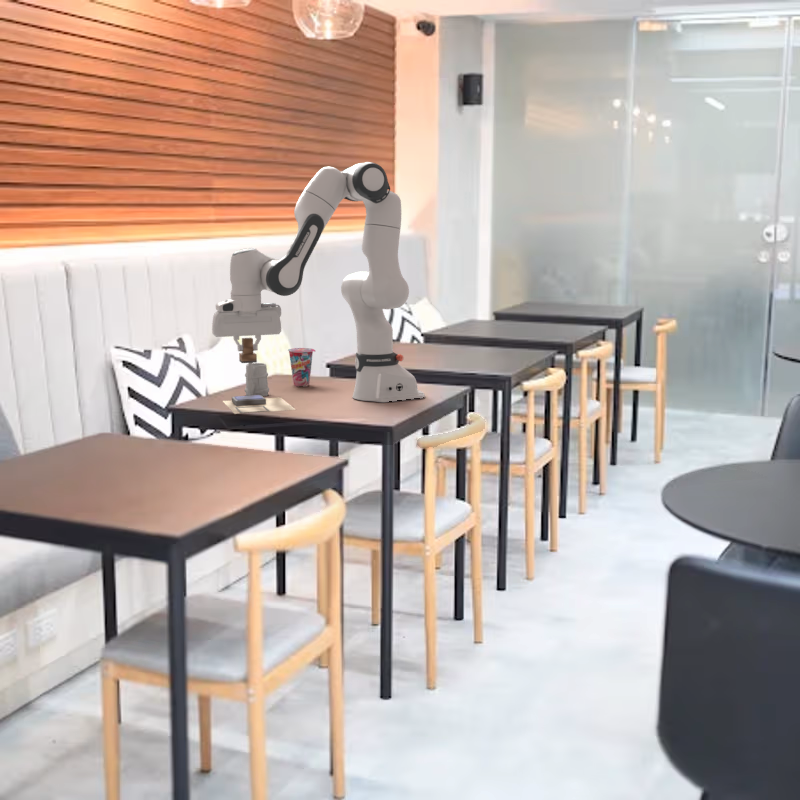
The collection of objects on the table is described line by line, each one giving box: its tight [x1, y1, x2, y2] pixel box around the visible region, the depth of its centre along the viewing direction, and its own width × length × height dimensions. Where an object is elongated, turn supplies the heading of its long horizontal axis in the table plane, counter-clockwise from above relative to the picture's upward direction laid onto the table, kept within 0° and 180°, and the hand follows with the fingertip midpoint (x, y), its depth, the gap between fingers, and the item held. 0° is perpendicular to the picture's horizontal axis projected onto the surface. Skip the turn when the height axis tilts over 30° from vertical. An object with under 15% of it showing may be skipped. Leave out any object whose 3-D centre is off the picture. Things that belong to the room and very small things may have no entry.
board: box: [222, 395, 297, 415], centre depth 330 cm, size 18×21×3 cm
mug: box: [244, 362, 270, 397], centre depth 349 cm, size 8×12×12 cm, turn 170°
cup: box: [287, 347, 316, 387], centre depth 369 cm, size 9×8×12 cm
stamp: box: [238, 337, 258, 364], centre depth 329 cm, size 4×4×7 cm
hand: (247, 350), depth 329 cm, fingers closed on stamp, 3 cm apart
